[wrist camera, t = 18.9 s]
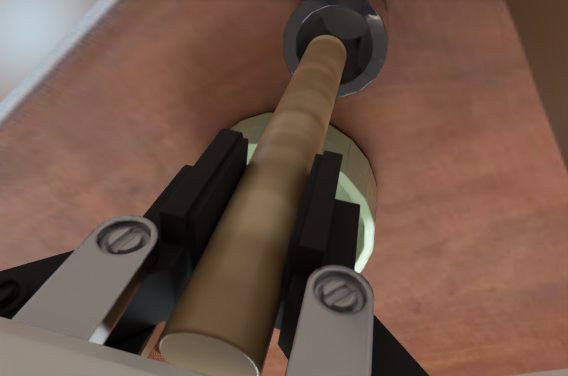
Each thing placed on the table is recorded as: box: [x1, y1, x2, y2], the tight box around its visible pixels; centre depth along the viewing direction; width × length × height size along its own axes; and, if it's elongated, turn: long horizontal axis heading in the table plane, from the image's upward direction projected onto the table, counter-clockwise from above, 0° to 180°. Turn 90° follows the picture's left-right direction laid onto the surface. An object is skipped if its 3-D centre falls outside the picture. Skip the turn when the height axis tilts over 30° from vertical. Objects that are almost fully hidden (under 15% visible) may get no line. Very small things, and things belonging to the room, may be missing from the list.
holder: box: [283, 0, 388, 98], centre depth 25 cm, size 6×6×6 cm
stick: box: [158, 35, 346, 376], centre depth 13 cm, size 2×2×16 cm
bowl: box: [230, 113, 377, 273], centre depth 34 cm, size 16×16×6 cm
